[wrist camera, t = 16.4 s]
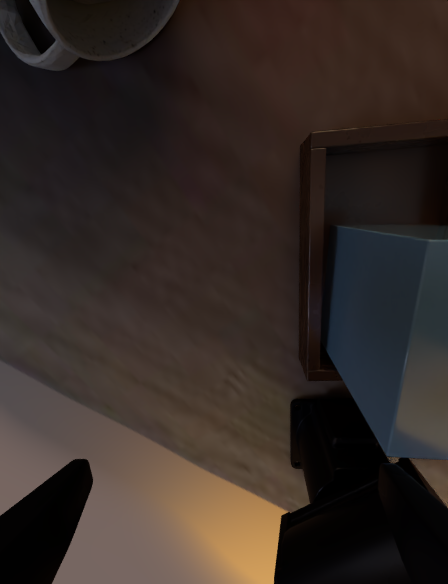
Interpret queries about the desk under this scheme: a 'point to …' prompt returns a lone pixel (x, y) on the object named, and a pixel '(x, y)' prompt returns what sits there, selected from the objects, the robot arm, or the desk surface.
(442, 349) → the tabbed grey block
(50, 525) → the robot arm
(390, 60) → the desk surface
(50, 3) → the ceramic mug
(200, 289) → the desk surface
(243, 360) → the desk surface
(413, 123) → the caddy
